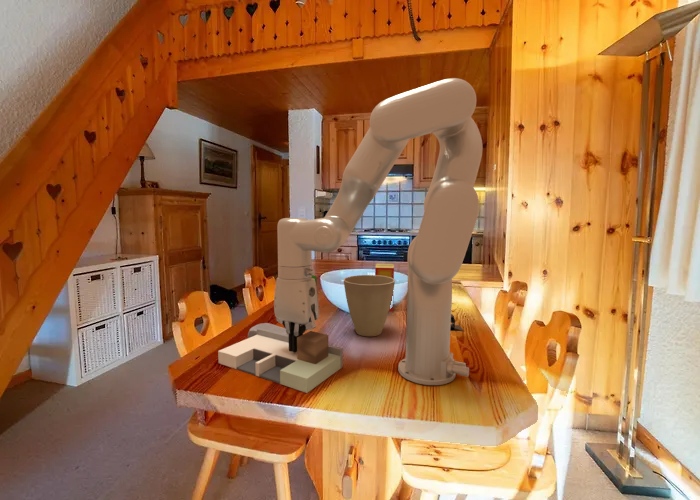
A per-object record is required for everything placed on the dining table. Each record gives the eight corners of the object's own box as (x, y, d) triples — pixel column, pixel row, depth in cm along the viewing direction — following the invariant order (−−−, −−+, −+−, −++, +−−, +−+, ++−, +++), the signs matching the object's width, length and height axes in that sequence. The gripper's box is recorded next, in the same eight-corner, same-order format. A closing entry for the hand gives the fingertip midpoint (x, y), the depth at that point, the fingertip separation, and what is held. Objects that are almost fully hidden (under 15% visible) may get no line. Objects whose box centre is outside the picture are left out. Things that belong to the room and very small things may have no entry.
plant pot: (402, 329, 107) (403, 278, 105) (378, 345, 94) (379, 287, 92) (360, 320, 115) (360, 272, 113) (333, 334, 103) (333, 280, 101)
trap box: (342, 366, 82) (342, 348, 81) (307, 393, 70) (306, 371, 70) (260, 344, 95) (259, 328, 94) (218, 363, 83) (217, 344, 83)
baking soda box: (393, 311, 125) (394, 267, 123) (374, 310, 126) (375, 266, 124) (392, 304, 135) (393, 262, 133) (375, 303, 135) (376, 262, 134)
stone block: (267, 337, 105) (244, 342, 96) (269, 321, 105) (246, 324, 97) (300, 346, 100) (279, 351, 91) (303, 329, 100) (281, 333, 91)
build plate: (428, 332, 106) (428, 318, 105) (424, 324, 113) (424, 311, 113) (470, 333, 105) (471, 319, 105) (463, 325, 113) (464, 311, 112)
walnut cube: (328, 356, 80) (328, 334, 80) (315, 364, 76) (315, 342, 76) (310, 351, 83) (310, 330, 82) (297, 359, 79) (296, 337, 78)
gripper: (331, 273, 80) (331, 351, 82) (281, 267, 87) (282, 338, 90) (311, 278, 73) (312, 363, 76) (258, 271, 81) (260, 348, 83)
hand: (295, 349), depth 83 cm, fingers closed
